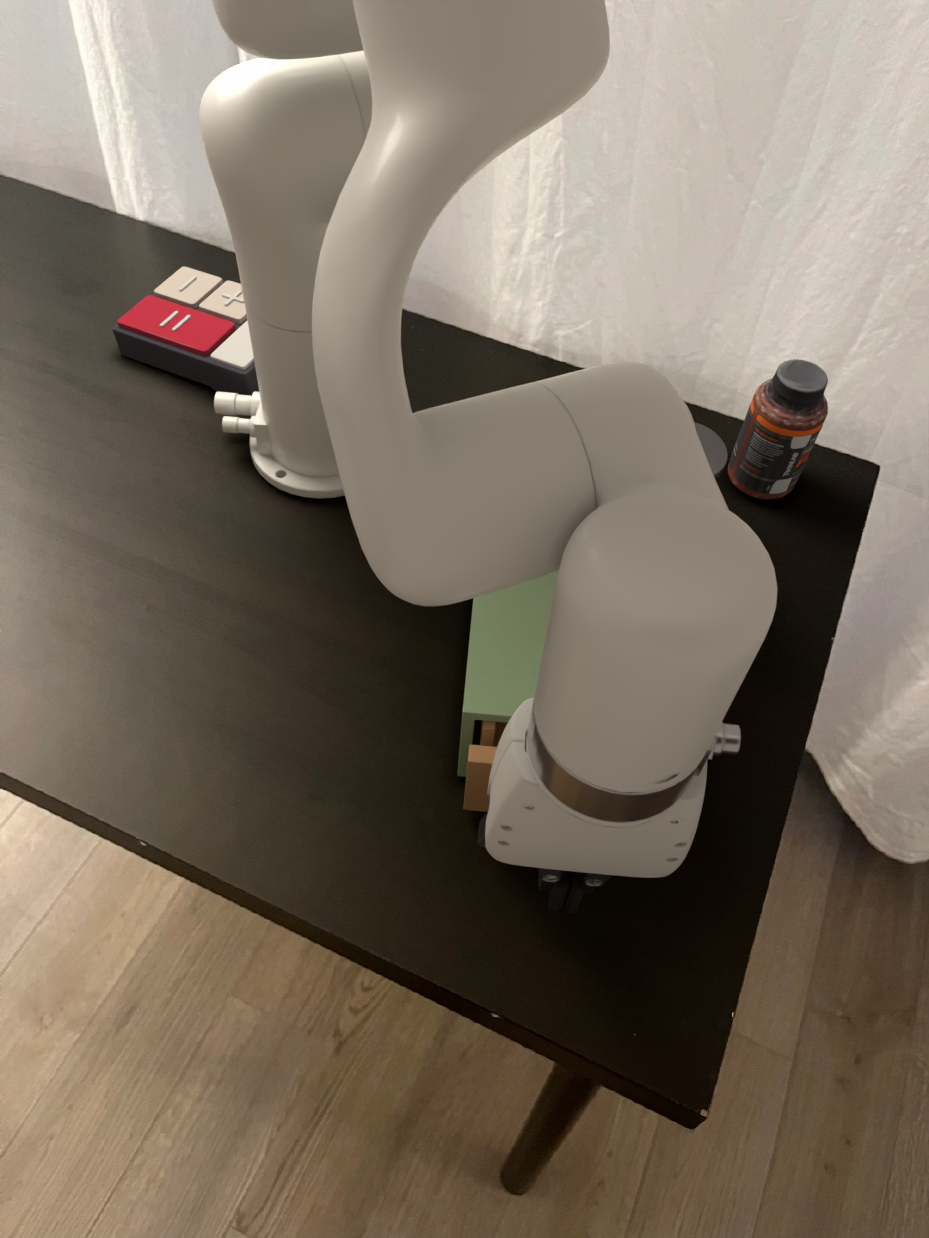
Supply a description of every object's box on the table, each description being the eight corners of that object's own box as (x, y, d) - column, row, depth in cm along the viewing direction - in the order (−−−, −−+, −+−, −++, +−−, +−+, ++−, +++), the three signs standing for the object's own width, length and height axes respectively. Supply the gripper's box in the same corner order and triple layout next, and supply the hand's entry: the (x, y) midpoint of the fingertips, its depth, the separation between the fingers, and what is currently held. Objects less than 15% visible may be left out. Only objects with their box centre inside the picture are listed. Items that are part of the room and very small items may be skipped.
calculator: (181, 259, 92) (313, 300, 88) (191, 298, 96) (319, 340, 91) (106, 321, 86) (244, 368, 82) (120, 360, 90) (253, 407, 85)
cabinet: (656, 795, 65) (685, 732, 58) (457, 776, 65) (462, 712, 58) (648, 611, 74) (673, 538, 67) (474, 595, 74) (480, 521, 67)
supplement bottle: (794, 509, 81) (842, 406, 72) (724, 496, 82) (763, 393, 73) (794, 460, 85) (840, 357, 76) (727, 449, 85) (764, 345, 76)
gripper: (777, 677, 44) (685, 839, 59) (452, 647, 44) (442, 816, 59) (796, 830, 39) (692, 963, 54) (435, 795, 40) (429, 937, 54)
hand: (562, 886), depth 56 cm, fingers closed
